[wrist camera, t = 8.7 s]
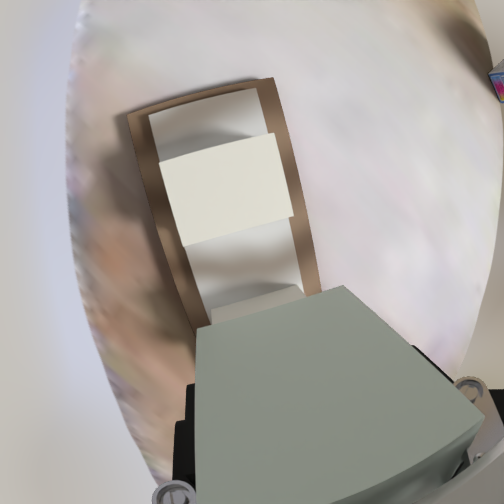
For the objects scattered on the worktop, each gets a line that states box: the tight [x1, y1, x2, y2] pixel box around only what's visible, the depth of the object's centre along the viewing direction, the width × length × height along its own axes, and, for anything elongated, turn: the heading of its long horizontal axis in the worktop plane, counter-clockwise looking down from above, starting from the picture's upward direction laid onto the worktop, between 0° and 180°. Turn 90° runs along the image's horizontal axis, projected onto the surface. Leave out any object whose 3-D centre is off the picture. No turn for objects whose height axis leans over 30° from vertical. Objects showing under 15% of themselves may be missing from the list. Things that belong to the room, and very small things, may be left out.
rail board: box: [127, 77, 322, 337], centre depth 26 cm, size 30×13×2 cm, turn 14°
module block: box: [195, 285, 485, 504], centre depth 8 cm, size 5×6×8 cm
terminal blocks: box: [159, 133, 306, 325], centre depth 23 cm, size 19×8×4 cm, turn 14°
